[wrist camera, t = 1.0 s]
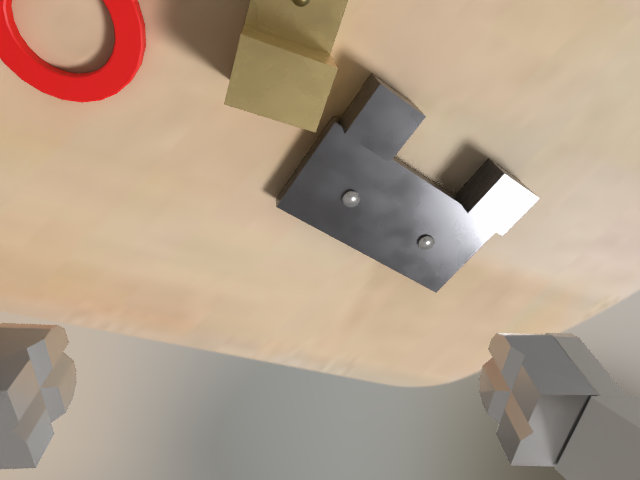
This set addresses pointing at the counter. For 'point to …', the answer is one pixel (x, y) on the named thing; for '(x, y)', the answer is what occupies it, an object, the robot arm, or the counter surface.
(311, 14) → the loose leaf
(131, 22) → the tow hook
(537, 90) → the counter surface
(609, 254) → the counter surface
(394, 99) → the fixed leaf
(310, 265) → the counter surface
